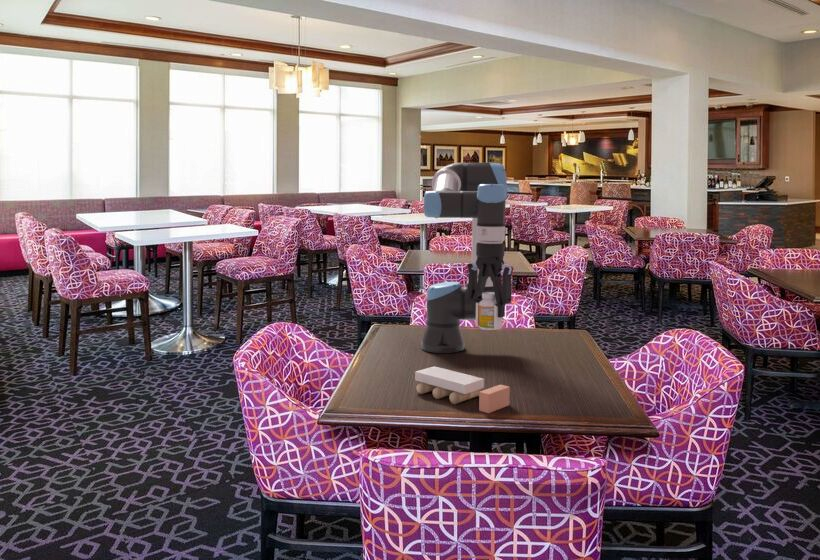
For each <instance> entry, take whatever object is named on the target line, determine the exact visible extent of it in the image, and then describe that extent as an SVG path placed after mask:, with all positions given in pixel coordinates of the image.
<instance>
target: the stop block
mask: <svg viewBox="0 0 820 560" xmlns="http://www.w3.org/2000/svg"><path fill="white" fill-rule="evenodd" d="M510 392H511V389H510V386H508V385H503V384H498V385H494V386H492V387H489V388H486V389H484V390H481V391H480V392H479V396H478V397H479V398H478V404H479V405H478V411H479V412H483V413H486V414H491V413H493V412H495V411H497V410H501V409H503V408H505V407H508V406H510V394H511V393H510Z"/></svg>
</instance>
